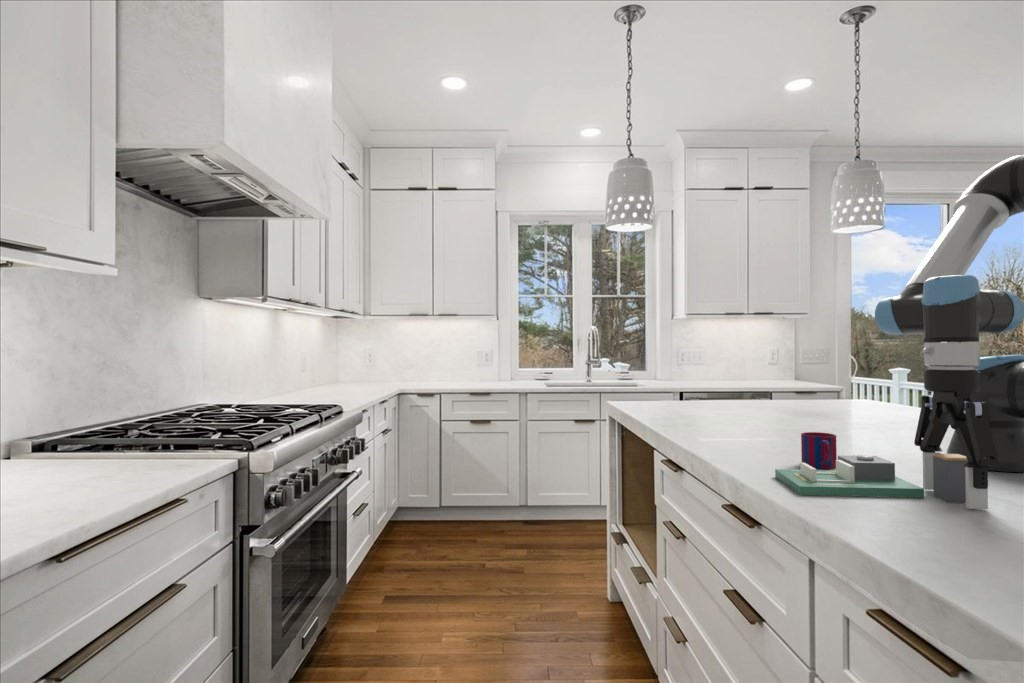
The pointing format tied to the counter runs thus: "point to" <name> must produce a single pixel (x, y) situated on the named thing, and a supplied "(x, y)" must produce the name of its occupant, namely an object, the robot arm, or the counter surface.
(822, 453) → the mug
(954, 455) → the grey upright block
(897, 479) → the board
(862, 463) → the grey box with tab
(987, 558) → the counter surface
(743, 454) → the counter surface
